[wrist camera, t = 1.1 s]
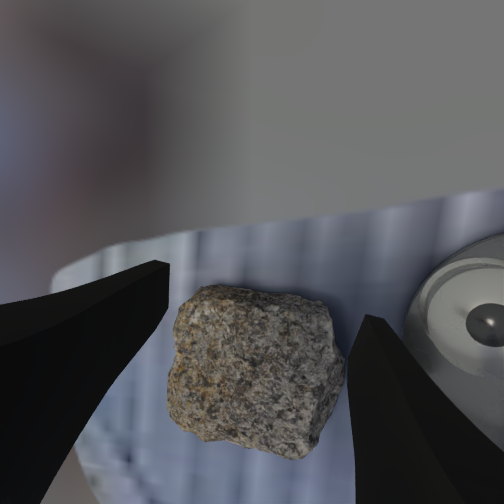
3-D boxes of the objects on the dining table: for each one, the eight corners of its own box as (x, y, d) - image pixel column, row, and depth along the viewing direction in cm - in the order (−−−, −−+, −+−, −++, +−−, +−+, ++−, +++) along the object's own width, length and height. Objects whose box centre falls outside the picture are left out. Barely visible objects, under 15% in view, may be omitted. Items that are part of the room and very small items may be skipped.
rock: (356, 298, 23) (197, 272, 30) (338, 320, 18) (148, 281, 24) (340, 451, 25) (191, 393, 31) (319, 518, 19) (143, 429, 26)
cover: (581, 307, 16) (619, 324, 13) (487, 382, 18) (502, 412, 15) (469, 234, 18) (482, 237, 15) (396, 311, 20) (395, 325, 17)
